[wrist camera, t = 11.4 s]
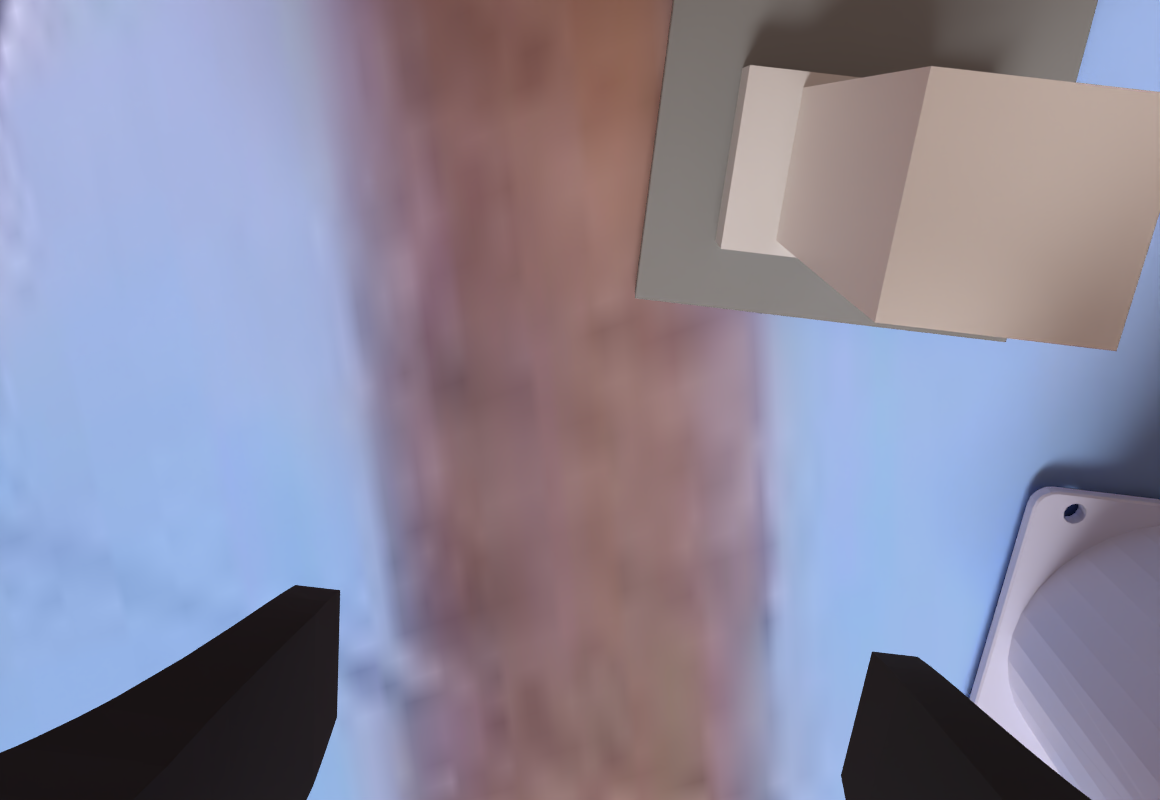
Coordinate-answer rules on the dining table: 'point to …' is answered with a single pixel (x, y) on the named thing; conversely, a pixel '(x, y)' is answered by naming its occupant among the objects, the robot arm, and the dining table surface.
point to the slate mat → (823, 45)
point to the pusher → (951, 195)
